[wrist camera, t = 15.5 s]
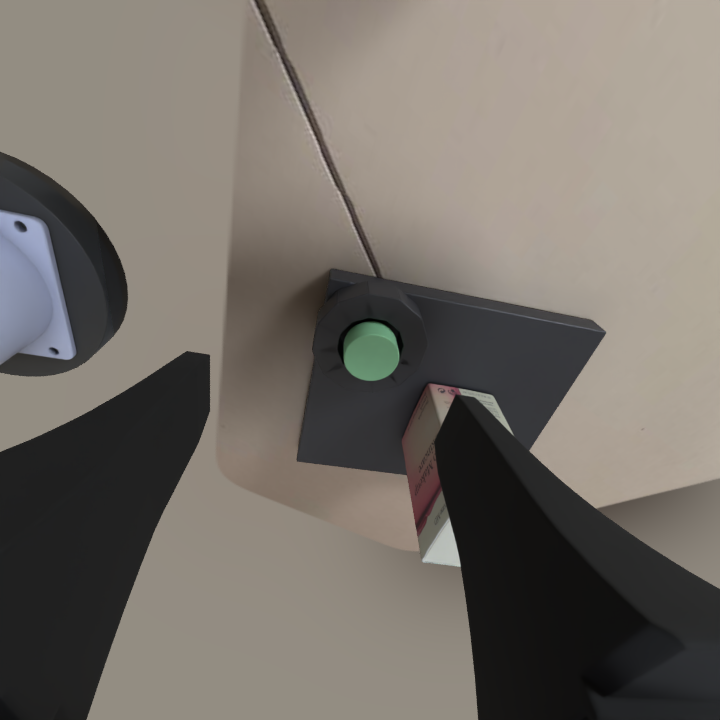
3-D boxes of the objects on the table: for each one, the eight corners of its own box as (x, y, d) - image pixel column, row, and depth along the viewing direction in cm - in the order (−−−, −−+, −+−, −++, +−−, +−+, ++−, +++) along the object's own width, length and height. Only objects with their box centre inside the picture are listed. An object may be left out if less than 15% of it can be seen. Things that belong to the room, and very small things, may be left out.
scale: (294, 445, 26) (289, 481, 23) (326, 262, 19) (323, 284, 16) (498, 472, 28) (513, 507, 25) (595, 316, 21) (629, 343, 18)
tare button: (339, 361, 19) (338, 376, 18) (349, 315, 18) (349, 330, 16) (388, 369, 19) (391, 385, 18) (402, 325, 18) (406, 340, 17)
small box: (426, 379, 21) (462, 498, 15) (494, 393, 22) (558, 513, 15) (398, 441, 24) (418, 565, 17) (460, 452, 25) (502, 575, 18)
